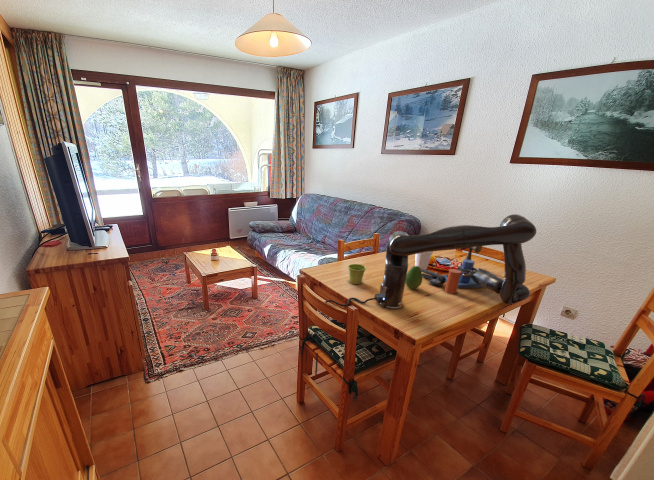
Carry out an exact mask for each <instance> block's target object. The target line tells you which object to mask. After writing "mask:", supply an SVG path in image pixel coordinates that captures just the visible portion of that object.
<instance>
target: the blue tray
mask: <svg viewBox="0 0 654 480" xmlns="http://www.w3.org/2000/svg"><path fill="white" fill-rule="evenodd" d="M442 276H445V278H446V281H445V282H447V278H448V274H442ZM473 288H476V289H477V288H483V287H482V286H480V285H478V284H477V283H475V282H474V281H473V278H470V282H461V281H459V284H458V288H457V289H473Z"/></svg>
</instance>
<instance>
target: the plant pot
mask: <svg viewBox="0 0 654 480" xmlns="http://www.w3.org/2000/svg"><path fill="white" fill-rule="evenodd" d="M347 268H348V274H349V276H348V277H349V283H350V284H353V285H360V284H362V282H363V277H364V274H365V272H366V270H367V267H366V266H365V265H364V264H359V263H351V264H349V265H347Z"/></svg>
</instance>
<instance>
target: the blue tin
mask: <svg viewBox="0 0 654 480" xmlns="http://www.w3.org/2000/svg"><path fill="white" fill-rule="evenodd" d="M475 262H476V261H474V260H472V259H471V260H465V259H463V260H462V264H461V266H462V268H464V269H470V270H473V268H475ZM464 271H465V270H464ZM465 272H466V271H465ZM468 274H469V272H468ZM459 281H461V282H470V277H468V276H466V277H465V278H464V277H462V276H460V280H459Z"/></svg>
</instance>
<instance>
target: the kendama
mask: <svg viewBox="0 0 654 480" xmlns="http://www.w3.org/2000/svg"><path fill="white" fill-rule="evenodd" d="M467 249H469V250H468V252H467V255H466V256H465V259H464V260H472V253H473V252H474V253H476V254H478V253H480V252H481V251H482V249H483V246H478V247H469V248H462V249H461V250H463V251H465V250H467ZM460 267H462V265H461V266H460Z"/></svg>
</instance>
